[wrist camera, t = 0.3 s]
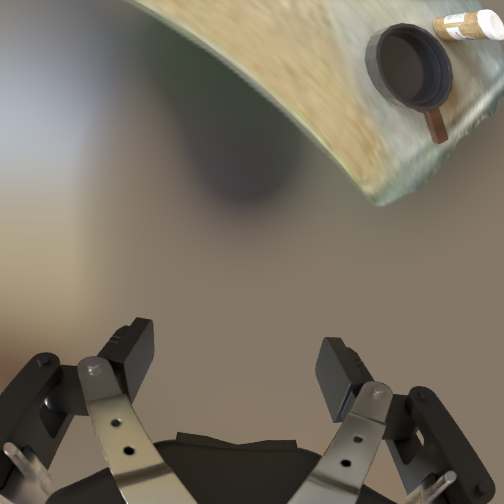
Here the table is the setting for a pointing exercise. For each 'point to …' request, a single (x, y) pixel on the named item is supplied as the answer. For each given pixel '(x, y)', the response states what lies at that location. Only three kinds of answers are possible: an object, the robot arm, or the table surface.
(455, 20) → the sprinkles bottle
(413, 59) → the pan
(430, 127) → the pan handle
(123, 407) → the robot arm
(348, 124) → the table surface
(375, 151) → the table surface
